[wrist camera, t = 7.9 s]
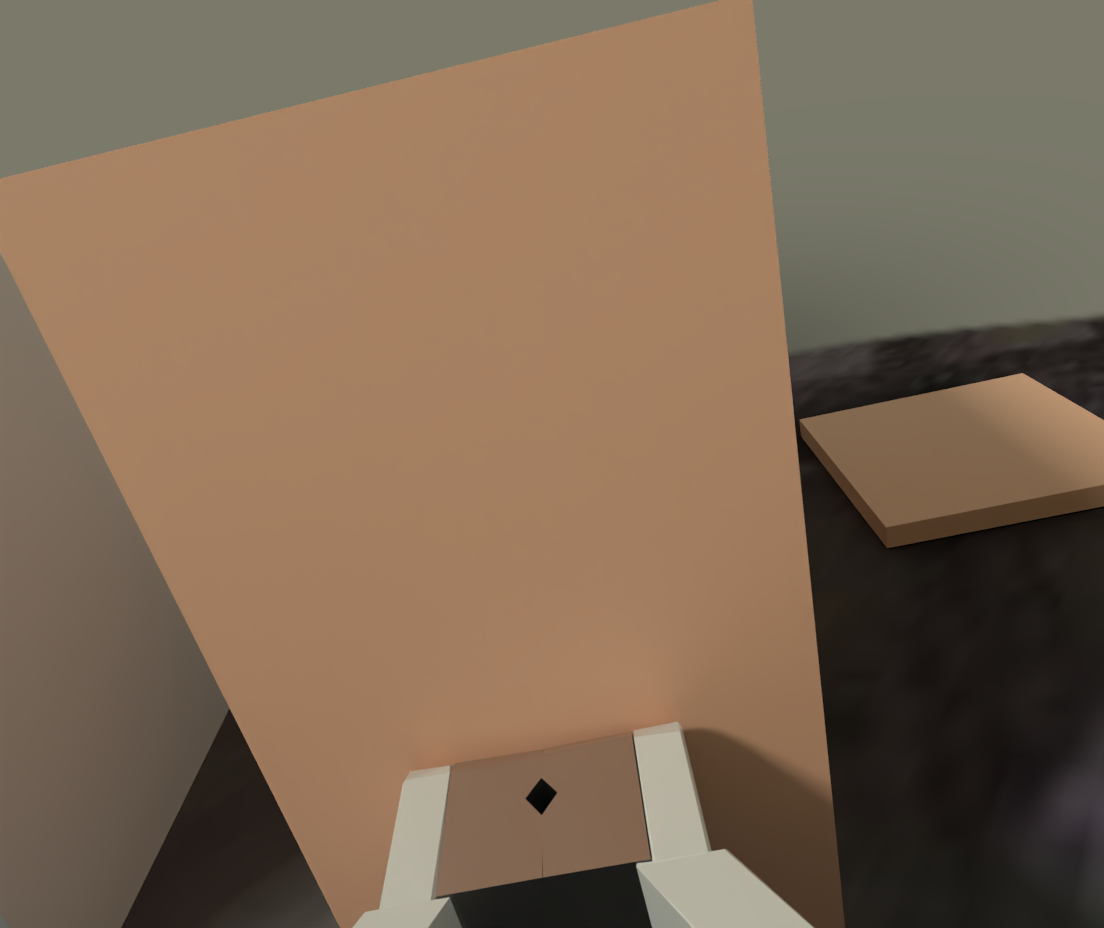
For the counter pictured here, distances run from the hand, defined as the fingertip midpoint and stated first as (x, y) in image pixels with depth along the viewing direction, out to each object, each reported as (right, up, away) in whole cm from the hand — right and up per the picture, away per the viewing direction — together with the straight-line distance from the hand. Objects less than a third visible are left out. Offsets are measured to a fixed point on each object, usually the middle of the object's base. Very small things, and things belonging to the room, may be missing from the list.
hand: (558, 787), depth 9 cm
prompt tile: (+11, +4, +14) cm, 18 cm away
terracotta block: (+1, -2, +7) cm, 8 cm away
